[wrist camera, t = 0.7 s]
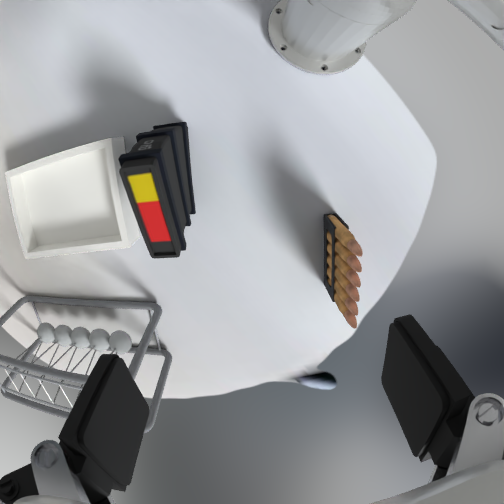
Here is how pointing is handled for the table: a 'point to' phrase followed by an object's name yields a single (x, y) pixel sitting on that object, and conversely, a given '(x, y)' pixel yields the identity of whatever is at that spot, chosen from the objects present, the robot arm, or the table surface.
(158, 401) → the newton's cradle
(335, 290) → the ammunition clip
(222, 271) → the table surface
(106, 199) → the parts tray
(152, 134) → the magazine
